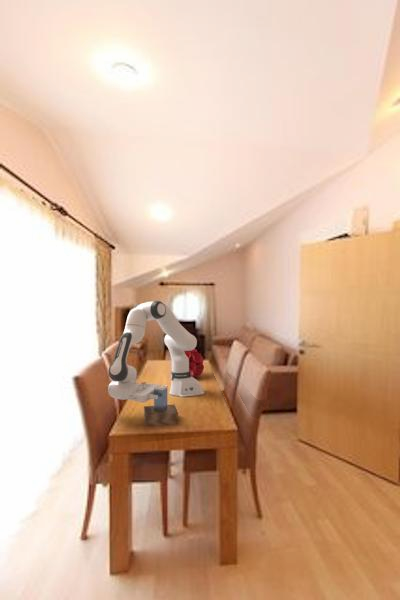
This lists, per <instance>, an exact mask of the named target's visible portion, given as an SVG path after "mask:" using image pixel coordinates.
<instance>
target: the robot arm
mask: <svg viewBox="0 0 400 600" xmlns="http://www.w3.org/2000/svg"><path fill="white" fill-rule="evenodd" d="M154 320H155V321H156V322H157V323H158V325H159V328H161V330H162V331H163V332H164V334H165V336H164V337H163V339H164V340H163V341H164V345H165V346H166V347H167V348H168V351H169V354H170V359H171V371H170V372H171V373H170V380H171V383H170V389H169V394H170V395H171V396H174V397H175V396H177V397H181V398H185V397H193V396H200V395H201V396H202V395H204V394H205V389H203V388H202V386H201V383H200V381H198V380H197V379H196V378H195V377H192V376H193V375H194V373H193V372H191V371H189V359H188V357H187V356H186V354H185V352H184V351H190V350H193V349H195V348H196V347H197V344H198V343H197V342H198V339H197V338H196V336H195V335H193V334H191V333H190V332H189V331H188V330H187V329H186V328H185V327H184V326H182V324H181V323H180V322H179V320H178V319H177V318H176V316H175V314H174V312H173V311H172V310H171V308H170V307H169V305H167V304H166V303H165V302H163V301H161V300H154V301H153V300H152V301H146V302H142V303H138V304H136V305H135V306H133V307H132V309H130V310H129V312H128V314H127V318H126V322H125V326H124V331H123V334H121V336H120V338H119V341H118V345H117V348H116V350H115V351H116V352H115V354H114V358H113V360H112V362H111V364H110V365H109V367H108V376H109V378H110V379H111V380H112V381H111V382H110V383H109V384H108V386H107V392H108V395H109V396H110V397H111V398H113V399H116V400H129V401H133V402H138V403H146V402H148V401H150V400H154V399H158V398H159V395H154V387H156V386H158V385H159V384H157V383H148V382H146V381H144V382H136V381H137V377H138V372H137V368H136V367H134V366H132V365H131V364H130V365H129V364H127V358H128V356H129V352H130V348H131V347H132V345H135V344H137V343H140V342H141V341H142V340H143V339H144V336H145V332H146V324H147V322H150V321H151V322H152V321H154Z"/></svg>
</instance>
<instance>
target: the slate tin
mask: <svg viewBox="0 0 400 600" xmlns="http://www.w3.org/2000/svg"><path fill="white" fill-rule="evenodd" d="M157 385H158V386H156V387H154V395H159V398H158V399H153V406H154V411H160V412H164V411H165V410H166V409H167V405H168V387H169V385H163V384H162V385H161V384H157Z"/></svg>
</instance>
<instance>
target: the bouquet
mask: <svg viewBox="0 0 400 600" xmlns="http://www.w3.org/2000/svg"><path fill="white" fill-rule="evenodd" d="M184 352H185V354H186V356H187V357H188V359H189V371H191V372H193V373H194V375H193V376H192V377H193V378H195V377H199V376H200V375H202V374H203V372H204V369H205V366H204V357H203V356H202V354H201V353H200V352H198V350H197V349H195V348H194V349H193V350H190V351H184Z"/></svg>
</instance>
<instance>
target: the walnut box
mask: <svg viewBox="0 0 400 600" xmlns="http://www.w3.org/2000/svg"><path fill="white" fill-rule="evenodd" d="M143 417H144V418H143V419H144V423H145V428H149V427H150V428H151V427H163V426H176V425H177V426H178V425H179V411H178V409H177V406H176V405H175V404H174V403H172V404H167V409H166V410H165V411H164V412H160V411H154V405H147V406H143Z"/></svg>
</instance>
